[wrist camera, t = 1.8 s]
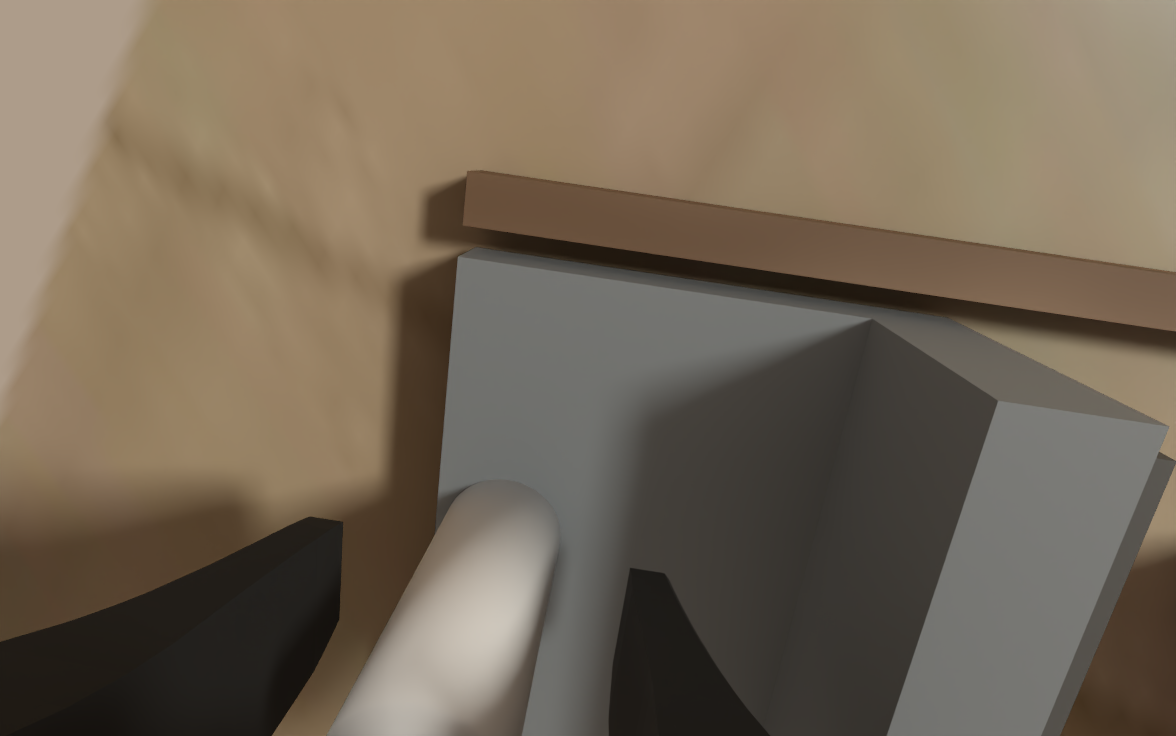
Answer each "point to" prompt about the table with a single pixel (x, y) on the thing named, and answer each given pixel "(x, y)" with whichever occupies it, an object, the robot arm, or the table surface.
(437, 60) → the table surface
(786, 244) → the frame
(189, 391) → the table surface
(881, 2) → the table surface
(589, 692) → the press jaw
